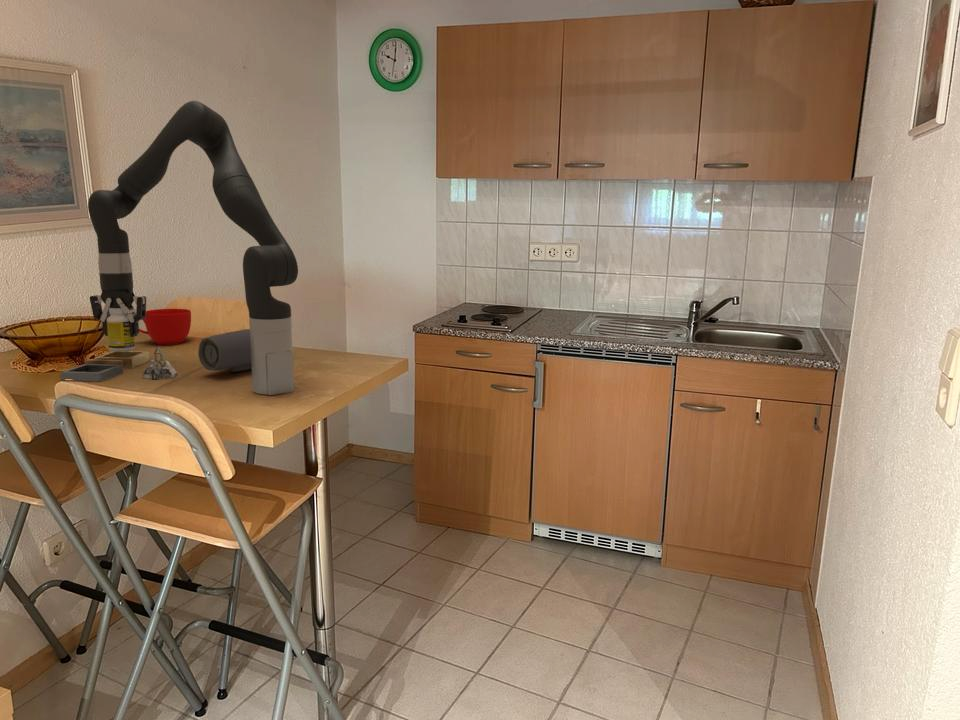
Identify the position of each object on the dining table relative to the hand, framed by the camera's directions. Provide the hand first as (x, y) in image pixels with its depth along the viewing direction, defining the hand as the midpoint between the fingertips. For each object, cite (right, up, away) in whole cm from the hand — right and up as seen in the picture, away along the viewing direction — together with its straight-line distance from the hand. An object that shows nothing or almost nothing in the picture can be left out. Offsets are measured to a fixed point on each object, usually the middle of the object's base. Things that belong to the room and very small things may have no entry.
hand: (121, 335), depth 186 cm
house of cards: (+15, -11, -14) cm, 23 cm away
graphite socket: (0, -10, -13) cm, 17 cm away
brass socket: (0, -7, +1) cm, 7 cm away
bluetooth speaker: (+33, -8, -1) cm, 34 cm away
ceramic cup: (-2, -2, +29) cm, 29 cm away
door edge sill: (-1, -9, -6) cm, 11 cm away
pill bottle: (0, -4, +1) cm, 4 cm away
